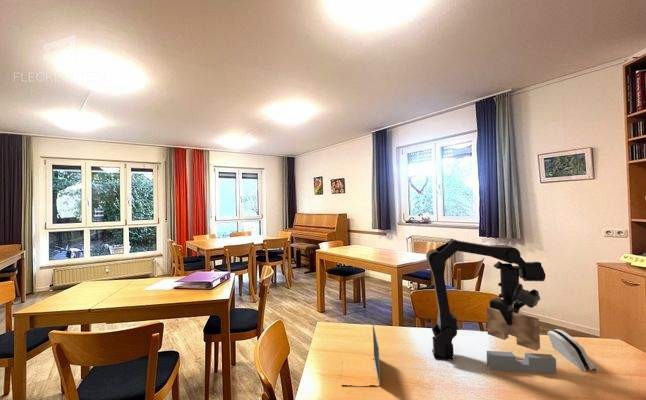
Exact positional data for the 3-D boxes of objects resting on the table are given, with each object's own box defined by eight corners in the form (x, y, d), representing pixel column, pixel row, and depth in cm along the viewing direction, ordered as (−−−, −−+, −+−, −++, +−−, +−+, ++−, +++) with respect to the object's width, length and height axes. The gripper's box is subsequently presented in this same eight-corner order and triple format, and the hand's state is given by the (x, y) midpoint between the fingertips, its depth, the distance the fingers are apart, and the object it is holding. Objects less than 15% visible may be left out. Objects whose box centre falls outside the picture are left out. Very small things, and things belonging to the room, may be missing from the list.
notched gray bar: (490, 369, 101) (489, 355, 101) (487, 364, 104) (486, 350, 104) (556, 374, 97) (555, 359, 97) (551, 369, 100) (550, 354, 100)
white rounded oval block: (599, 372, 97) (586, 343, 97) (584, 376, 98) (571, 347, 98) (566, 347, 113) (555, 322, 114) (554, 351, 114) (543, 326, 115)
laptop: (342, 358, 113) (340, 323, 113) (375, 358, 112) (373, 323, 112) (341, 387, 95) (339, 347, 95) (380, 388, 94) (379, 347, 94)
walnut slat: (487, 334, 112) (486, 307, 112) (491, 332, 114) (490, 306, 114) (536, 350, 99) (535, 321, 99) (540, 348, 100) (538, 318, 100)
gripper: (522, 291, 94) (525, 339, 94) (546, 280, 105) (548, 324, 105) (487, 283, 104) (489, 328, 104) (512, 274, 114) (514, 315, 114)
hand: (511, 324), depth 106 cm, fingers closed on walnut slat, 3 cm apart
